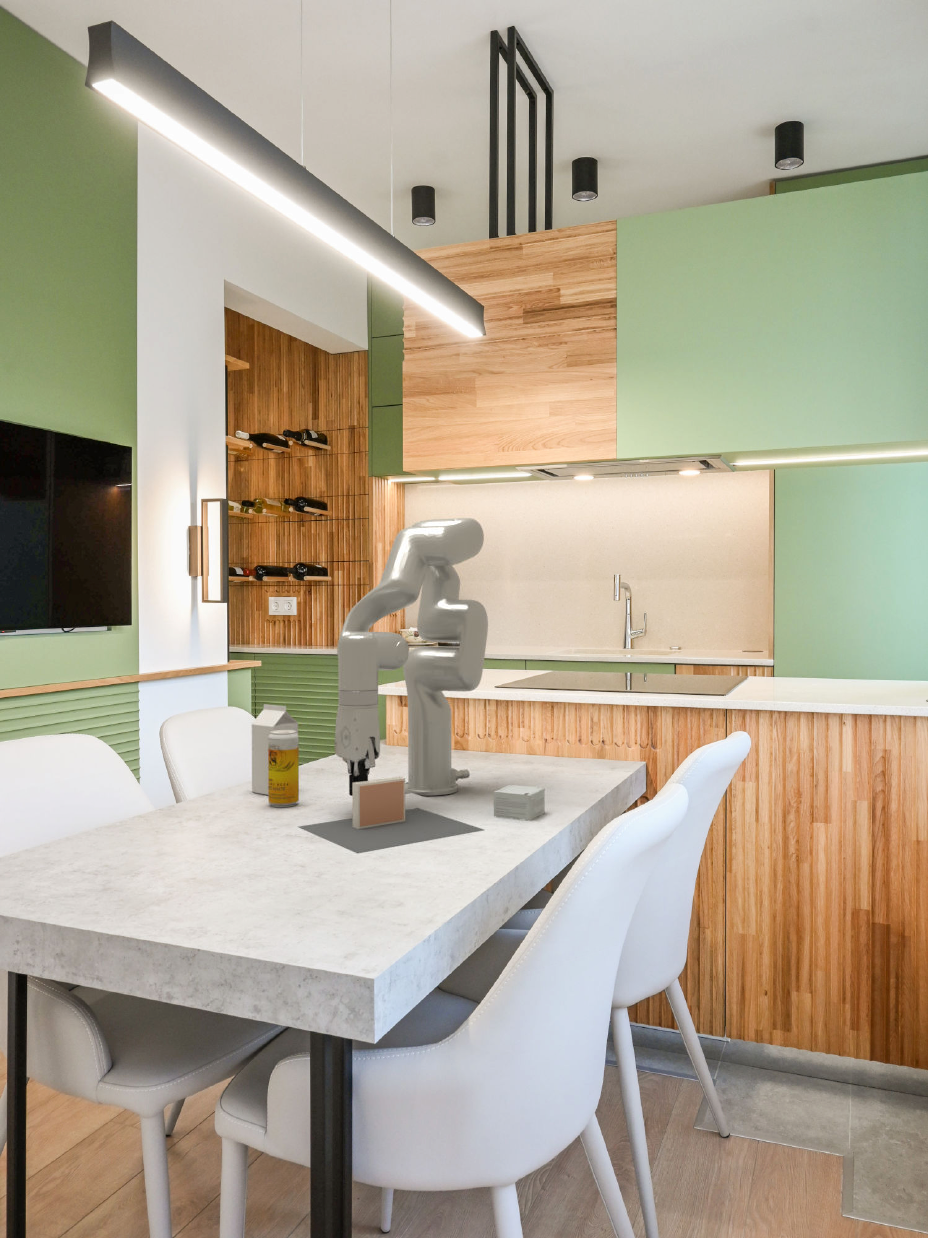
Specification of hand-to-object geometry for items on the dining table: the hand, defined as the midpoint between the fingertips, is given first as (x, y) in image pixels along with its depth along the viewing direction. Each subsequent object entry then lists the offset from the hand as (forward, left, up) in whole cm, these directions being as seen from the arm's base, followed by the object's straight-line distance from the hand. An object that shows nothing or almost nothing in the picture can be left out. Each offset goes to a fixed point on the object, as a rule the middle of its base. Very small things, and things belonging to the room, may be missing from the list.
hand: (358, 795), depth 173 cm
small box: (-27, +15, -5) cm, 32 cm away
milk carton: (+2, -33, -5) cm, 34 cm away
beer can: (+6, -20, -5) cm, 22 cm away
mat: (0, +12, -5) cm, 12 cm away
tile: (0, +8, -4) cm, 9 cm away
